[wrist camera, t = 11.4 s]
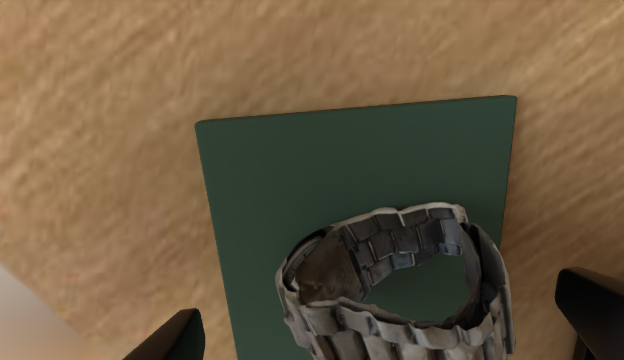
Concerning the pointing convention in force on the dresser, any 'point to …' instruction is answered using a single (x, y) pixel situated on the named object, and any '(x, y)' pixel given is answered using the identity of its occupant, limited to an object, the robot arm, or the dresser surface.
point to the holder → (348, 198)
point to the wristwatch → (377, 265)
